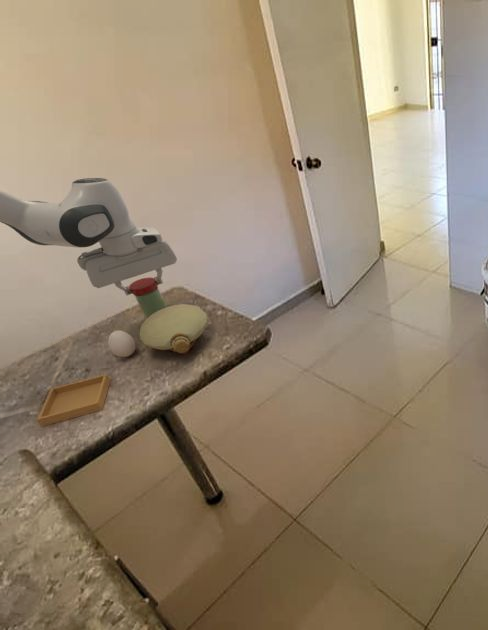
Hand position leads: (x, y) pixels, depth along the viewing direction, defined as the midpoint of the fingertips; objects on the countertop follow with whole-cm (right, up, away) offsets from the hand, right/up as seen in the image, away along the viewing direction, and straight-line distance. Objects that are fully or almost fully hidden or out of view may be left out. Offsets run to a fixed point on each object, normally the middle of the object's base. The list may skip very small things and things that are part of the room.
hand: (145, 288), depth 118 cm
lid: (0, +1, -1) cm, 1 cm away
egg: (+1, -17, -8) cm, 19 cm away
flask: (+14, -15, -6) cm, 21 cm away
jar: (+1, -8, +5) cm, 10 cm away
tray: (-1, -27, -21) cm, 34 cm away
